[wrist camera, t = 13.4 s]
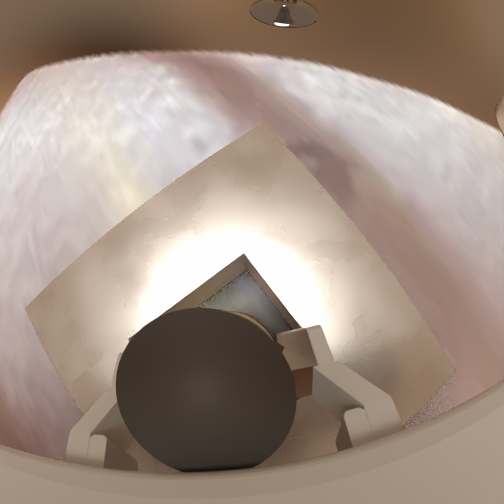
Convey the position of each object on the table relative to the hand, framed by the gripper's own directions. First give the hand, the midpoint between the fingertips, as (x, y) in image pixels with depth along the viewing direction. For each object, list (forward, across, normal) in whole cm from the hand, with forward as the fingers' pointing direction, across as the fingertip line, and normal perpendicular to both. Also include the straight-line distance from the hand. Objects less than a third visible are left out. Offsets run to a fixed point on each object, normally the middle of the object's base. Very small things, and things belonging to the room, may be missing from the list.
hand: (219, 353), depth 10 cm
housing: (+5, 0, +6) cm, 7 cm away
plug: (+4, 0, +4) cm, 6 cm away
